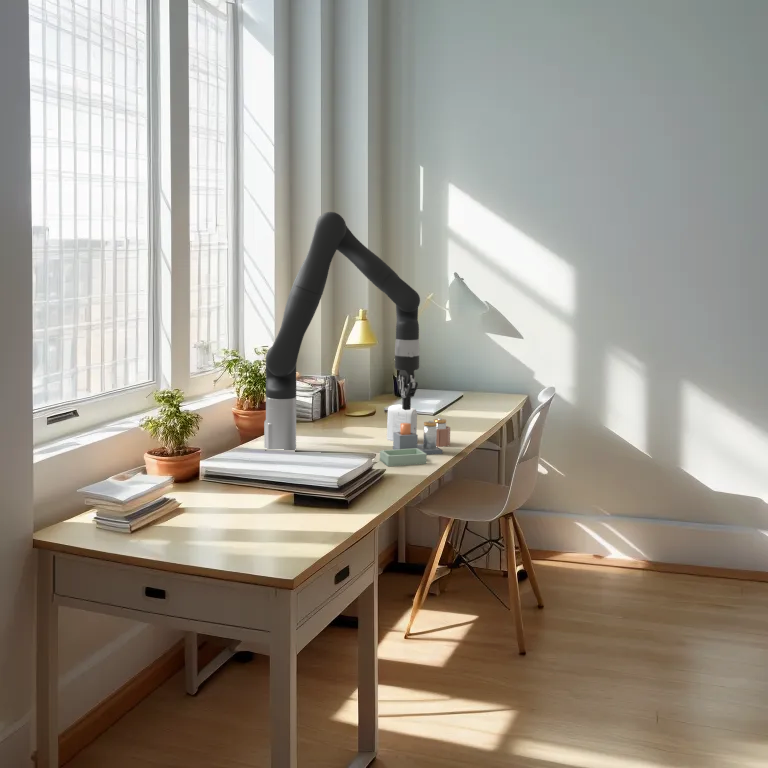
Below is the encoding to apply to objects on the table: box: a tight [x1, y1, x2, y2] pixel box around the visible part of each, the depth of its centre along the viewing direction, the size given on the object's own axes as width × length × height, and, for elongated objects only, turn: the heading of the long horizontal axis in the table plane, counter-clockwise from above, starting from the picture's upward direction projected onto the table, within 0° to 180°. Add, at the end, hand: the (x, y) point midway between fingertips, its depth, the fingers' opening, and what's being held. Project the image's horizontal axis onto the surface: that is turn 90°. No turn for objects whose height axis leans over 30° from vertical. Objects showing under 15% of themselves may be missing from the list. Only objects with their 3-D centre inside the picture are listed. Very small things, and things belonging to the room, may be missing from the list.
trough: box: [379, 448, 428, 467], centre depth 262 cm, size 12×8×3 cm, turn 109°
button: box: [400, 423, 411, 435], centre depth 274 cm, size 3×3×5 cm
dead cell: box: [433, 417, 447, 429], centre depth 284 cm, size 4×4×8 cm
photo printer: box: [386, 403, 418, 442], centre depth 288 cm, size 10×4×12 cm, turn 57°
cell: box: [422, 420, 437, 450], centre depth 274 cm, size 4×4×8 cm
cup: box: [436, 425, 451, 448], centre depth 285 cm, size 6×6×6 cm
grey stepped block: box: [392, 431, 443, 456], centre depth 274 cm, size 13×9×6 cm
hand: (406, 409), depth 273 cm, fingers closed
